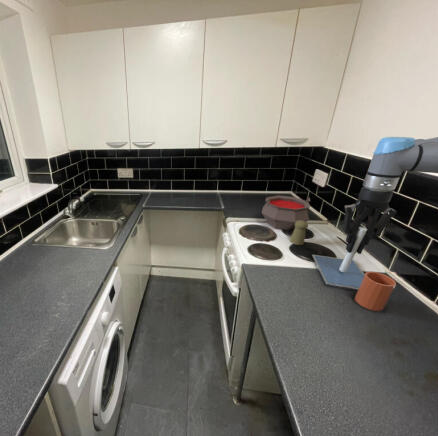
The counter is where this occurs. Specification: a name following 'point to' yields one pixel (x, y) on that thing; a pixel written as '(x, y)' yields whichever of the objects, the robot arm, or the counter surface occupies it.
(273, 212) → the cauldron
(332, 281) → the tablet
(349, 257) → the stylus
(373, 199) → the robot arm
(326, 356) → the counter surface
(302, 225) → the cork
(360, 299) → the pen pot
